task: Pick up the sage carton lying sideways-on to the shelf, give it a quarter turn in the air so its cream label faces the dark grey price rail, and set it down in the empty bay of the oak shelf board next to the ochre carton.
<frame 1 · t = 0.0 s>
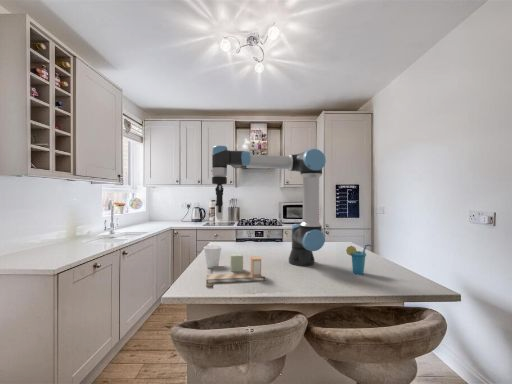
hand: (219, 218, 134), 28 cm above the countertop, fingers open, 13 cm apart
faced carton: (255, 276, 125), point 1 cm above the countertop, touching shelf
cup 2: (359, 273, 136), on the countertop
shelf: (234, 280, 123), on the countertop
cup: (212, 267, 145), on the countertop
carton: (236, 272, 135), on the countertop
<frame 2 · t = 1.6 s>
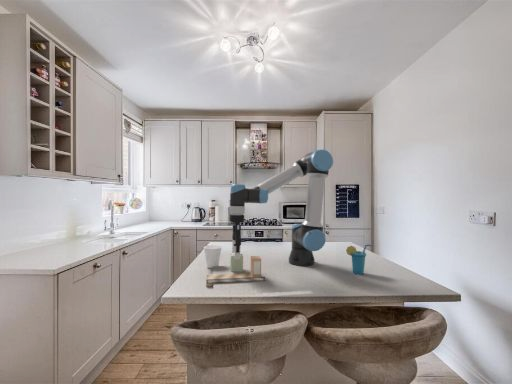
hand: (235, 255, 135), 9 cm above the countertop, fingers open, 13 cm apart
nothing on the countertop moved.
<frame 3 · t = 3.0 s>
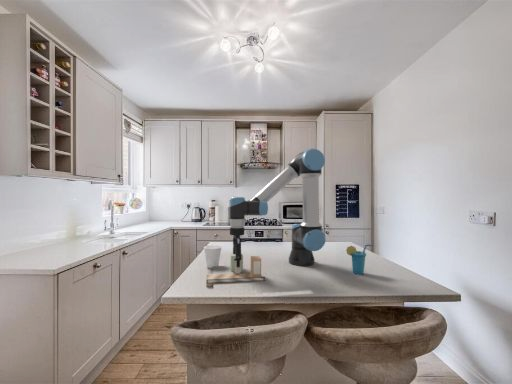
hand: (236, 270, 134), 1 cm above the countertop, fingers open, 11 cm apart
nothing on the countertop moved.
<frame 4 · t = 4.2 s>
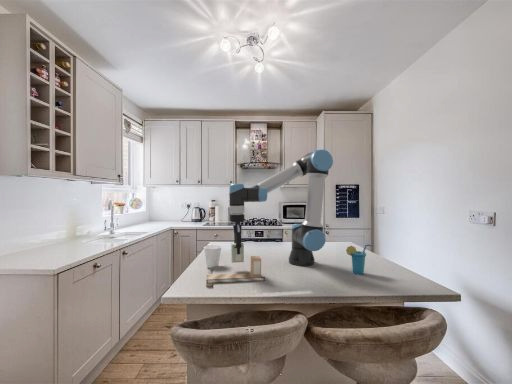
hand: (237, 259, 135), 7 cm above the countertop, fingers closed on carton, 4 cm apart
carton: (237, 261, 135), point 6 cm above the countertop, touching gripper
everything else where it was.
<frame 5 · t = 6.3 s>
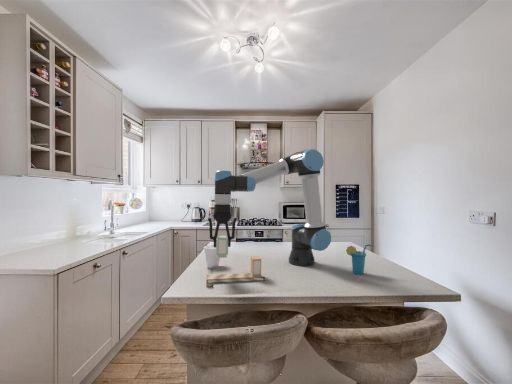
hand: (221, 253, 122), 12 cm above the countertop, fingers closed on carton, 4 cm apart
carton: (221, 255, 123), point 11 cm above the countertop, touching gripper
everything else where it was.
when the fingers open (3 cm above the countertop, at t = 8.5 s): carton stays where it is, resting on shelf.
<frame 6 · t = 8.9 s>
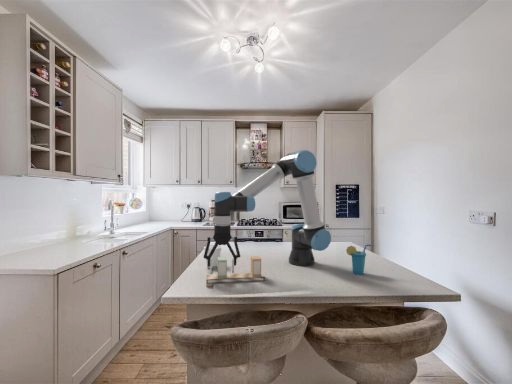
hand: (221, 272, 122), 4 cm above the countertop, fingers open, 9 cm apart
carton: (221, 277, 123), point 1 cm above the countertop, touching shelf
everything else where it was.
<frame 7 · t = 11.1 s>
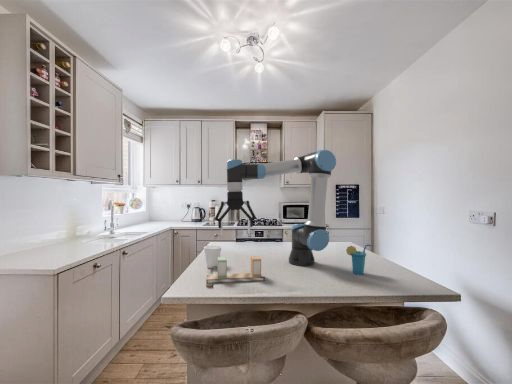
hand: (235, 234, 129), 21 cm above the countertop, fingers open, 13 cm apart
nothing on the countertop moved.
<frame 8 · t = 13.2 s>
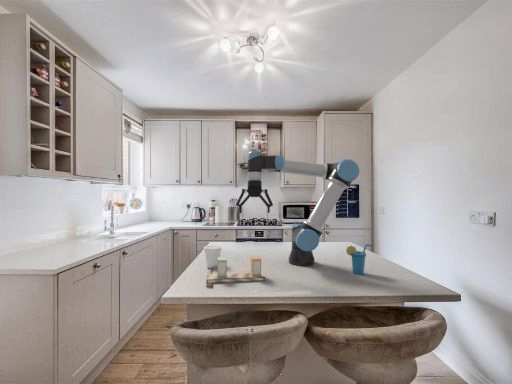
hand: (254, 219, 143), 27 cm above the countertop, fingers open, 13 cm apart
nothing on the countertop moved.
at the end: carton inside the target area on the shelf (0.7 cm from its centre), point 1.2 cm above the shelf's base; carton tilted 0° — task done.
